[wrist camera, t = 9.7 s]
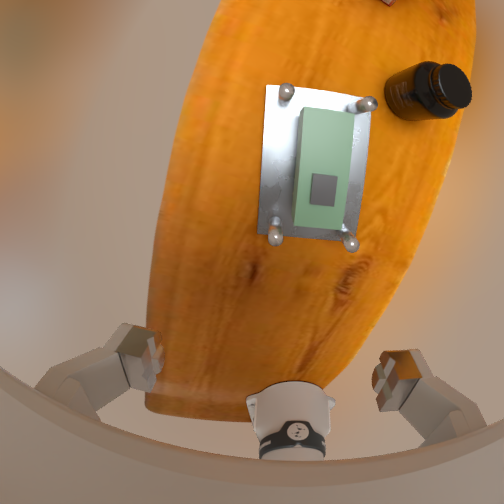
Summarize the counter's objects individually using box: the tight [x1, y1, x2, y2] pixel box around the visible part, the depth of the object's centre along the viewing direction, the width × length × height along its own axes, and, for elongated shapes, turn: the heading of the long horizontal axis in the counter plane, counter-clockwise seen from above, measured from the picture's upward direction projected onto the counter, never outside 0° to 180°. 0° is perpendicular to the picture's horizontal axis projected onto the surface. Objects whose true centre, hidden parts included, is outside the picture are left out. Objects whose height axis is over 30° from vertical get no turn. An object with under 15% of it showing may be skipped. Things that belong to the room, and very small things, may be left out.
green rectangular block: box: [291, 106, 355, 230], centre depth 27 cm, size 12×5×5 cm, turn 177°
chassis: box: [257, 83, 378, 253], centre depth 29 cm, size 19×13×7 cm
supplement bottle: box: [385, 61, 472, 121], centre depth 22 cm, size 7×7×12 cm
